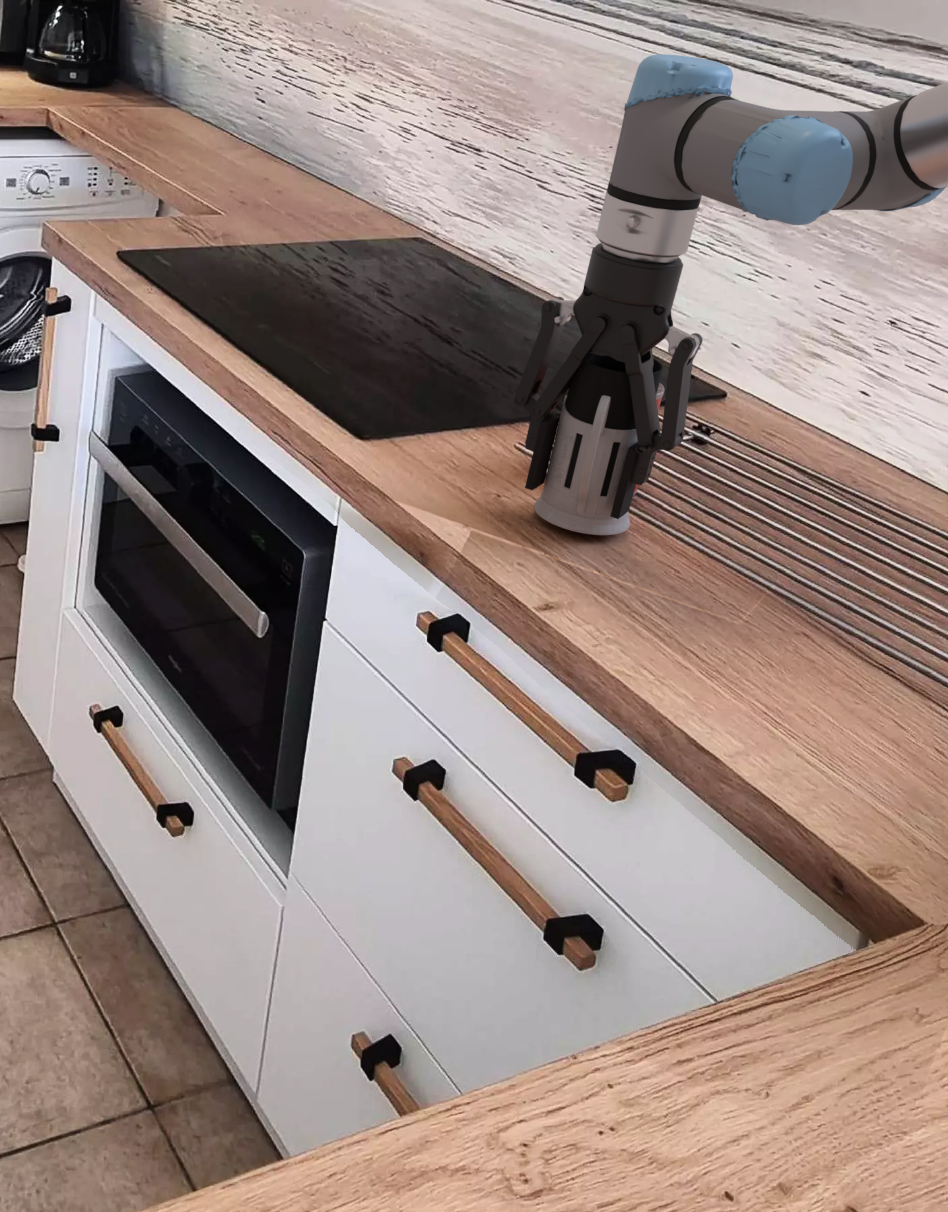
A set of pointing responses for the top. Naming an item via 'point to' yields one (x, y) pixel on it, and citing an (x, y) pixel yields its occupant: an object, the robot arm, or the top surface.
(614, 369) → the glass holder
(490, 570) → the top surface
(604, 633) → the top surface
